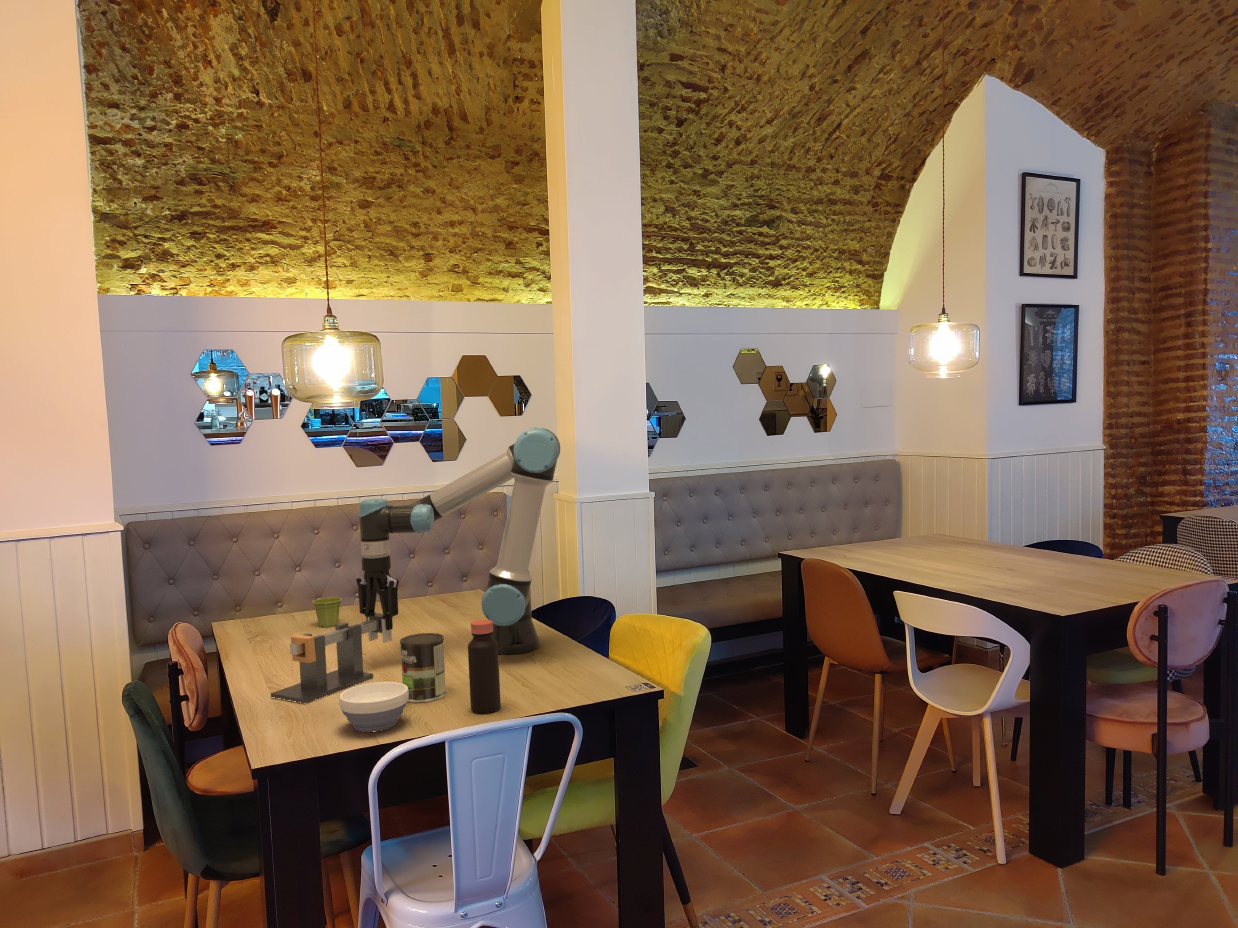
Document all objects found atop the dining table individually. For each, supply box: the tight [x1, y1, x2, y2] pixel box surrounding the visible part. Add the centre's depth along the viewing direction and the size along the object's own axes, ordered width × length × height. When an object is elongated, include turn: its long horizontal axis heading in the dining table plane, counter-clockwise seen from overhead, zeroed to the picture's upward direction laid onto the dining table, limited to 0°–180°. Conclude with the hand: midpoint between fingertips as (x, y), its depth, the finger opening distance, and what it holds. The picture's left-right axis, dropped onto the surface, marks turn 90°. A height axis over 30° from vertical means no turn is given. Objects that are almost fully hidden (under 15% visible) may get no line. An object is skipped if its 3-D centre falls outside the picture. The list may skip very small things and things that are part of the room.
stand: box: [270, 622, 374, 704], centre depth 210 cm, size 12×22×14 cm, turn 151°
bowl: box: [338, 681, 409, 733], centre depth 182 cm, size 14×14×8 cm
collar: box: [290, 634, 316, 663], centre depth 205 cm, size 6×2×6 cm, turn 61°
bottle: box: [467, 619, 502, 715], centre depth 189 cm, size 7×7×20 cm
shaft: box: [289, 612, 384, 655], centre depth 216 cm, size 4×30×4 cm, turn 151°
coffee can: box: [399, 632, 447, 704], centre depth 201 cm, size 10×10×14 cm
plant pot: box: [312, 596, 343, 628], centre depth 280 cm, size 9×9×9 cm
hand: (380, 640), depth 228 cm, fingers closed on shaft, 4 cm apart
